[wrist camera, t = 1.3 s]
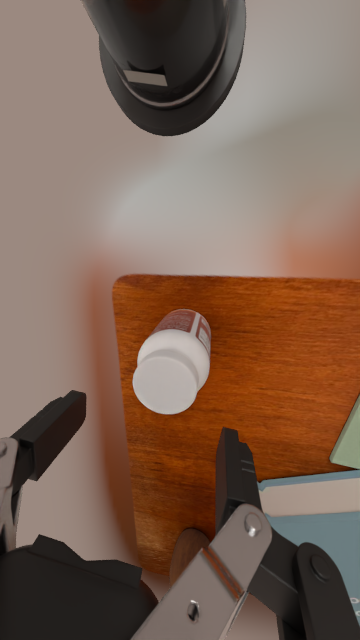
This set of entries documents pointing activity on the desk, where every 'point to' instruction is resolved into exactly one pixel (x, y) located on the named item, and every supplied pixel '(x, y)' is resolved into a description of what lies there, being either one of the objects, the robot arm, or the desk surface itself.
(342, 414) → the desk surface
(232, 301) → the desk surface
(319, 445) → the desk surface
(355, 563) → the book
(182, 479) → the desk surface
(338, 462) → the mat
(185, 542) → the wooden figurine
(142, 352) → the pill bottle
